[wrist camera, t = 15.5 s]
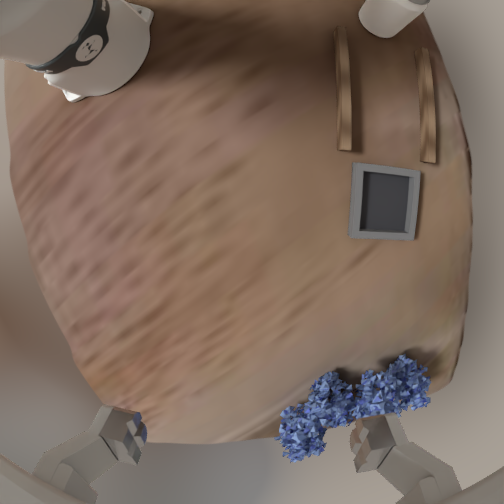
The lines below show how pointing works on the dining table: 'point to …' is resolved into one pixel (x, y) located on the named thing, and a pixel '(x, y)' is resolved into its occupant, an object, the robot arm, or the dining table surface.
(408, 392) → the decorative sculpture
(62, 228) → the dining table surface
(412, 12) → the can
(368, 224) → the tray
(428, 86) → the rail channel
